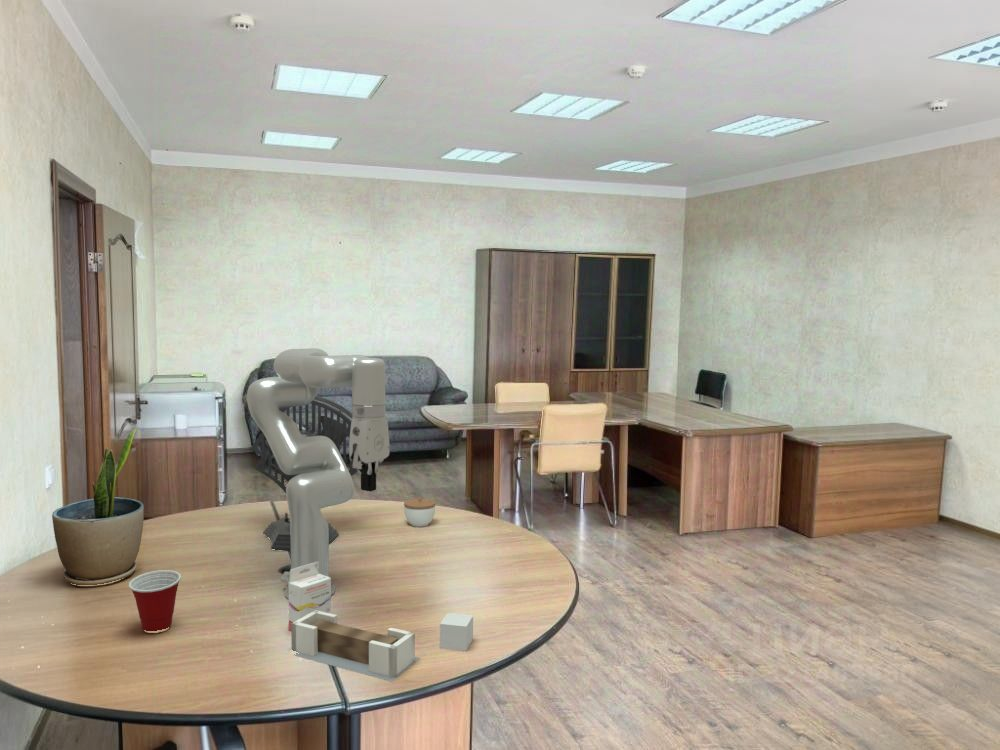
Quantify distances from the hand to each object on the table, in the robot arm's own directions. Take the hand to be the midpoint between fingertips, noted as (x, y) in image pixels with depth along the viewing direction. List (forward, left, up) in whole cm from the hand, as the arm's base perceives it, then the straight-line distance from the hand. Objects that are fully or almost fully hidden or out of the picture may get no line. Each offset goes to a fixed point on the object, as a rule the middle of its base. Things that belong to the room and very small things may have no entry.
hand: (368, 489), depth 172 cm
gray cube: (+24, -1, -32) cm, 40 cm away
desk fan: (-54, +42, -32) cm, 76 cm away
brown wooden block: (+7, -16, -32) cm, 36 cm away
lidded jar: (-31, +74, -32) cm, 87 cm away
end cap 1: (-3, -16, -32) cm, 35 cm away
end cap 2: (+17, -16, -32) cm, 39 cm away
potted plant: (-81, -9, -32) cm, 88 cm away
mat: (+7, -16, -32) cm, 36 cm away
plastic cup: (-41, -25, -32) cm, 58 cm away
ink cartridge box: (-10, -9, -32) cm, 35 cm away
